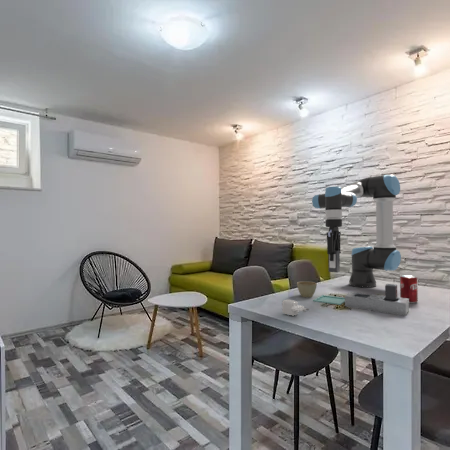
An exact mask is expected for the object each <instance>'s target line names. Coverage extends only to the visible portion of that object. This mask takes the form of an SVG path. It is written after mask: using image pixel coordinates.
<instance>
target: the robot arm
mask: <svg viewBox="0 0 450 450" xmlns="http://www.w3.org/2000/svg"><path fill="white" fill-rule="evenodd" d="M324 191H325V193H322V194H320V193H319V194H314V195H313V197H312V199H311V203H312V207H313V208H315V209H321V210H322V209H325V211H324V215H325V218H326V219H325V227H326V228H328V231H327V232H326V234H325V235H326V244H327V245H326V247H327V248H326V251H327V252H326V253H327V255H328V254H329V258H328V268H329V267H330V268H336V254H335V251H340V254H341V236H342V235H341V234H342V232H341V231H340V230H339V228H341V227H343V220H342V218H343V209H342V208H352V207H354V206H355V205H356V203H357V202H358V199H359V198H372V201H374V202H375V220H376V221H375V230H376V244H375V245H373V246H363V247H354V248H352V250H351V274H350V277H349V279H348V280H349V281H348V285H349V286H352V287H355V288H356V287H358V288H375V287H377V281H376V278H375V275H374V270H377V271H379V270H380V271H386V272H388V271H389V272H392V271H393V272H394V271H397V269H398V268H399V266H400V264H401V261H402V254H401V252H400V250H398V249H397V245H395V244H394V201H395V200H396V198H397V196H398V195H399V194H400V192H401V183H400V181H399V179H398V177H397V176H396V175H394V174H383V175H377V176H369V177H365V178H363V179H359V180H357V181H353V182H351V183H350V184H349V185H347V186H344V187H341V186H337V185H336V186H328V187H326V188H325V190H324Z"/></svg>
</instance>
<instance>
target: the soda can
mask: <svg viewBox="0 0 450 450" xmlns="http://www.w3.org/2000/svg"><path fill="white" fill-rule="evenodd" d="M418 279H419V278H418V277H417V276H415V275H411V274H409V275H408V274H406V275H400V277H399V294H400V296H399V298H408V299H409V304H417V303H418V300H419V293H418V291H419V290H418V288H419V287H418V286H419V285H418V282H419V281H418Z"/></svg>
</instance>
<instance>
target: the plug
mask: <svg viewBox="0 0 450 450" xmlns="http://www.w3.org/2000/svg"><path fill="white" fill-rule="evenodd" d="M340 252H341V250H340V251H335V254H336V268H330V267H329V266H328V272H329V273H339V272H341V269H340V268H341V265H340V264H341V261H340V259H341V257H340V256H341V255H340V254H341V253H340ZM327 255H328V259H329V254H327Z"/></svg>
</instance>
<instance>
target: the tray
mask: <svg viewBox="0 0 450 450" xmlns="http://www.w3.org/2000/svg"><path fill="white" fill-rule="evenodd" d="M312 301H313V302H314V303H315V302H317V303H322V304H323V303H325V304H331V305H339V306H341V305H342V304H345V297H341V296H333V295H327V294H326V295H325V294H322V295H320V296H318V297H316V298H314V299H312Z"/></svg>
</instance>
